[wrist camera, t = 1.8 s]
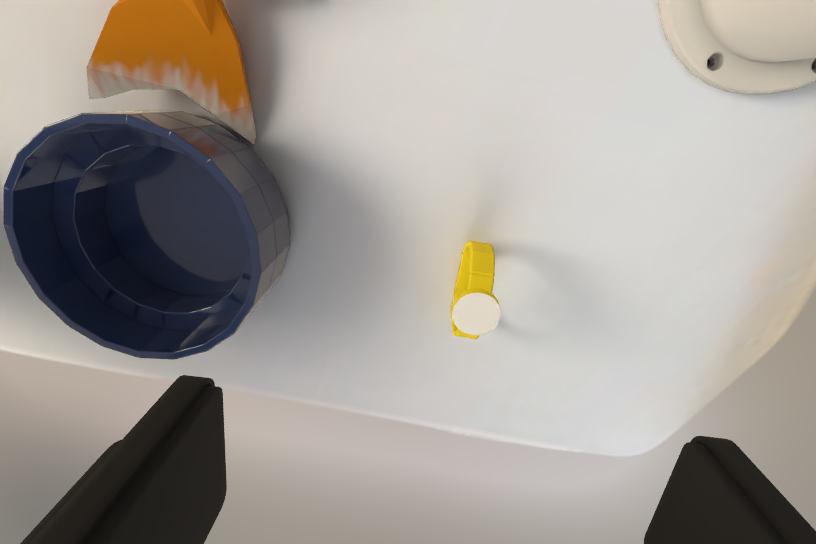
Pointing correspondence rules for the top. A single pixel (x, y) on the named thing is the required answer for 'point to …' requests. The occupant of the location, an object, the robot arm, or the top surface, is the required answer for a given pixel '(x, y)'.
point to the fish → (174, 56)
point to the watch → (475, 292)
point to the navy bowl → (146, 229)
